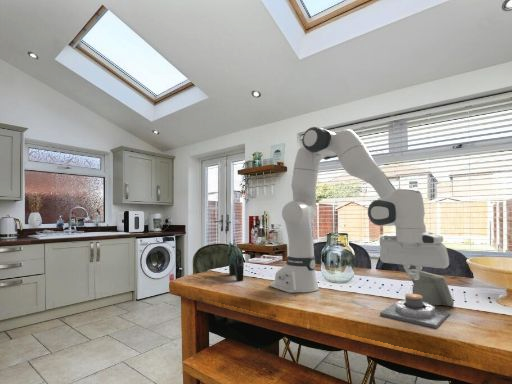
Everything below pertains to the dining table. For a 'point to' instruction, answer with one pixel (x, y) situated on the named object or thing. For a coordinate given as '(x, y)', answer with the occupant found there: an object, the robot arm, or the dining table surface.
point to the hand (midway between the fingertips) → (413, 279)
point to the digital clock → (432, 289)
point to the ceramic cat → (235, 261)
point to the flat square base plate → (416, 314)
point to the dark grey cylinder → (414, 301)
